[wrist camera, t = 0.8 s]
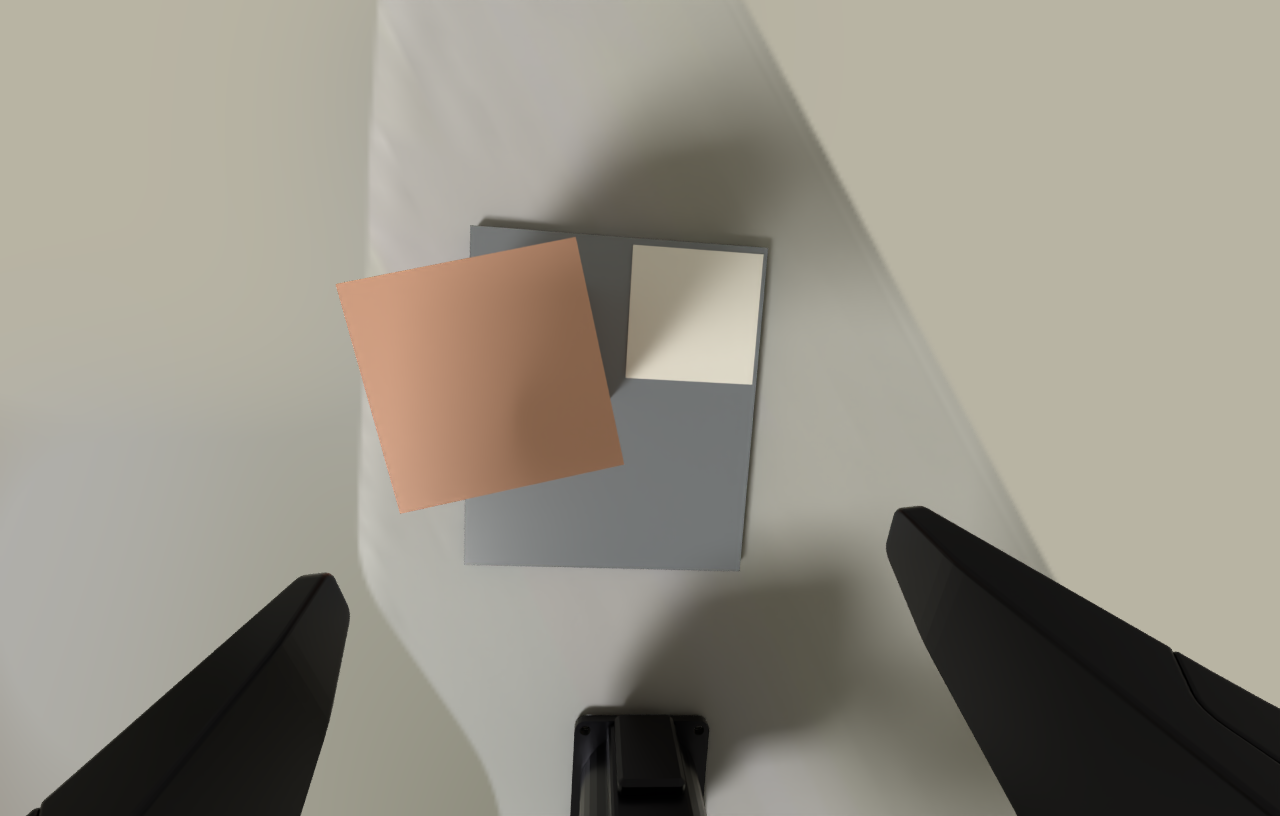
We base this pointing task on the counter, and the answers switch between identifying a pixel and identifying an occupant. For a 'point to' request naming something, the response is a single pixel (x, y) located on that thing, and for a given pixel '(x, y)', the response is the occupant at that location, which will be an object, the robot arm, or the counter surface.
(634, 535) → the baseplate
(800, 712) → the counter surface
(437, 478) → the column
